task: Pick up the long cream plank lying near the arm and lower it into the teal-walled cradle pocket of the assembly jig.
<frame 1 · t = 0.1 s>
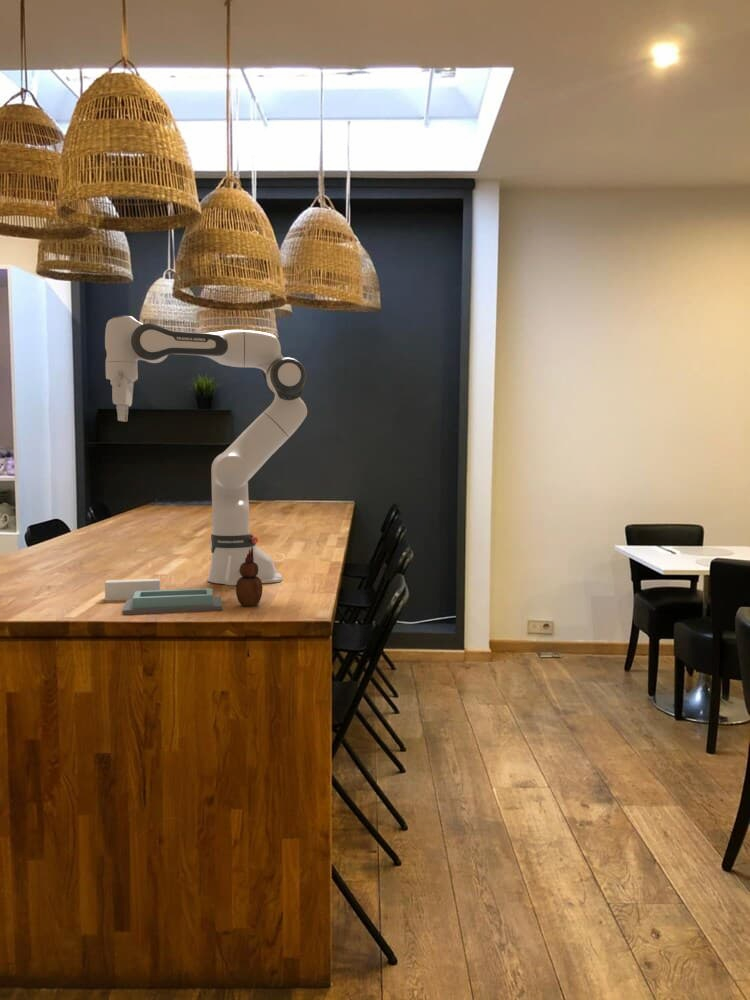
hand: (122, 421, 221), 48 cm above the table, fingers open, 8 cm apart
wooden figurine: (249, 605, 198), on the table
cradle jig: (173, 606, 195), on the table
long cream plank: (133, 598, 206), on the table
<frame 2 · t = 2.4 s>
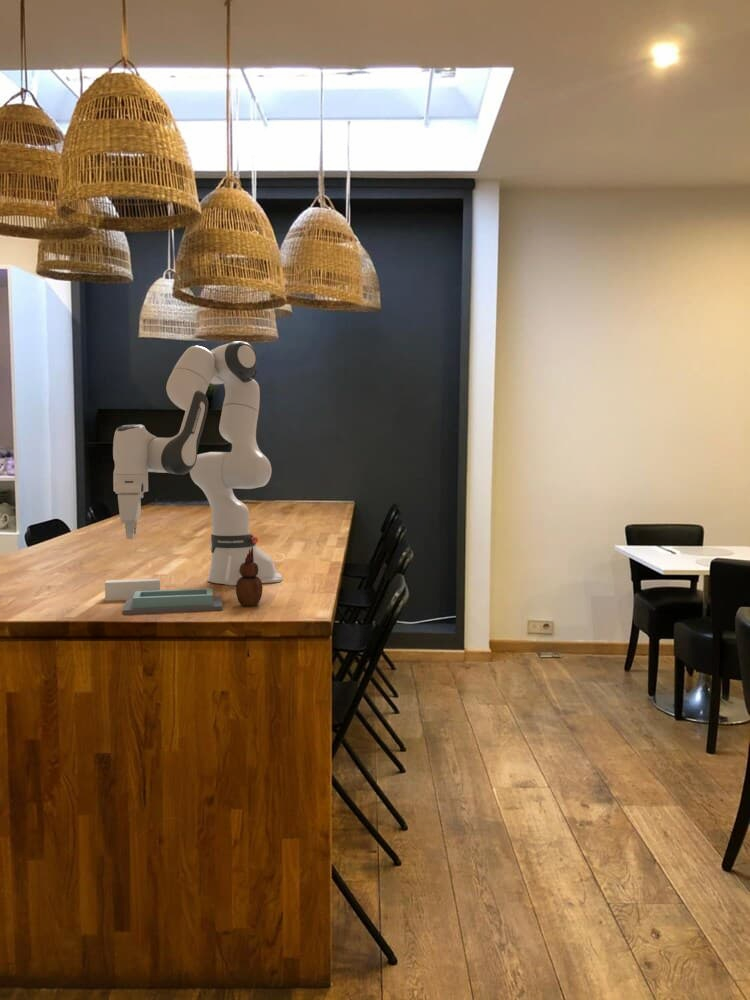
hand: (131, 536, 204), 17 cm above the table, fingers open, 8 cm apart
nothing on the table moved.
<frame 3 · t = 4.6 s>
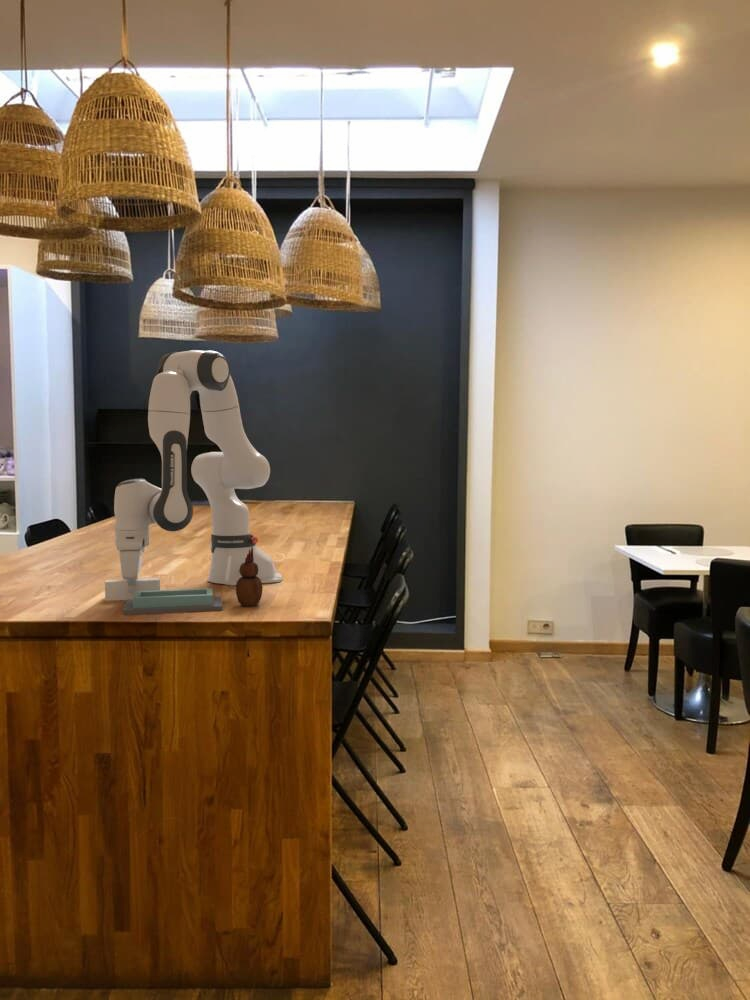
hand: (133, 590, 205), 2 cm above the table, fingers closed on long cream plank, 4 cm apart
long cream plank: (133, 598, 206), on the table, touching gripper
everything else where it was.
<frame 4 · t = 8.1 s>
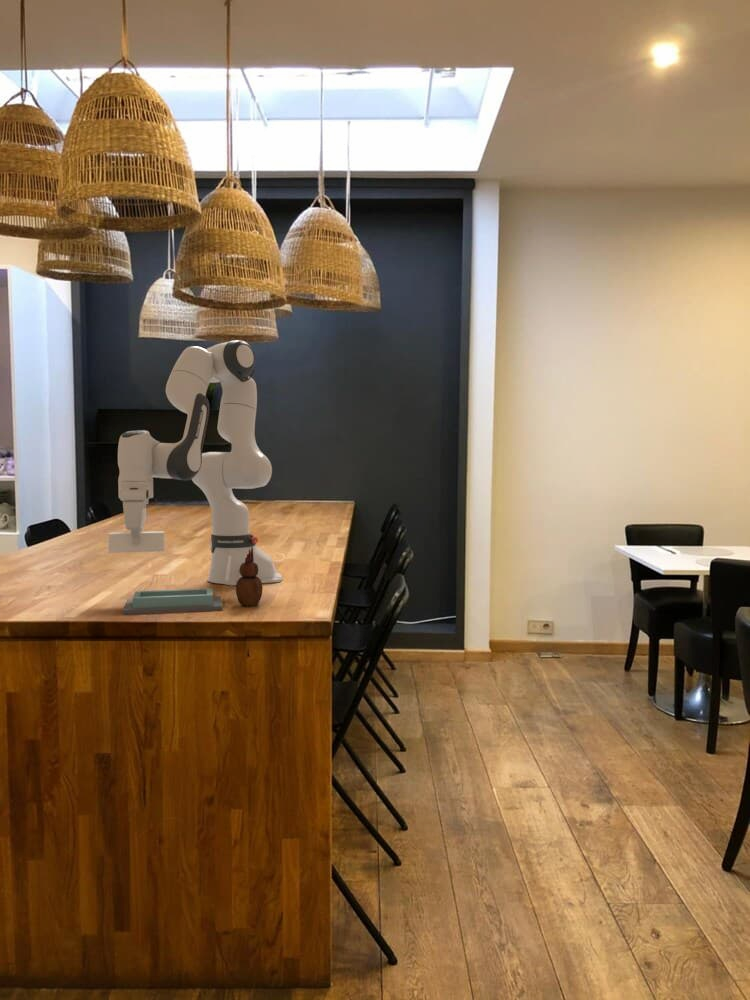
hand: (136, 543, 203), 15 cm above the table, fingers closed on long cream plank, 4 cm apart
long cream plank: (137, 551, 203), point 13 cm above the table, touching gripper
everything else where it was.
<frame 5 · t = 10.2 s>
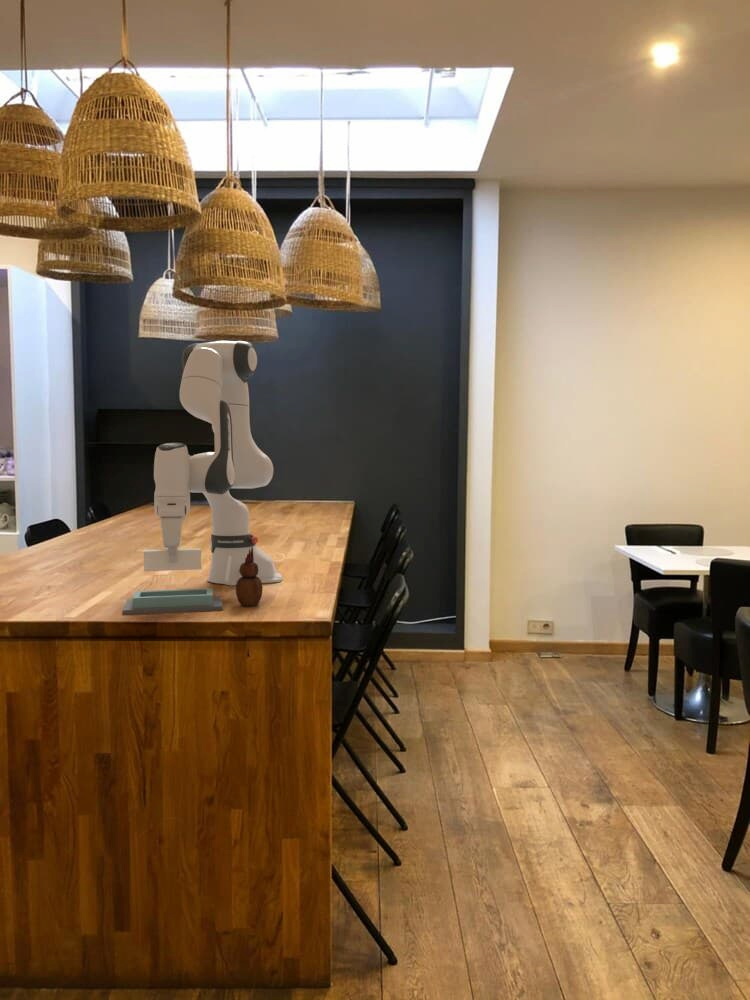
hand: (173, 560, 194), 12 cm above the table, fingers closed on long cream plank, 4 cm apart
long cream plank: (172, 569, 194), point 10 cm above the table, touching gripper
everything else where it was.
when the fingers open (5 cm above the table, at t = 11.9 s): long cream plank drops 2 cm, resting on cradle jig.
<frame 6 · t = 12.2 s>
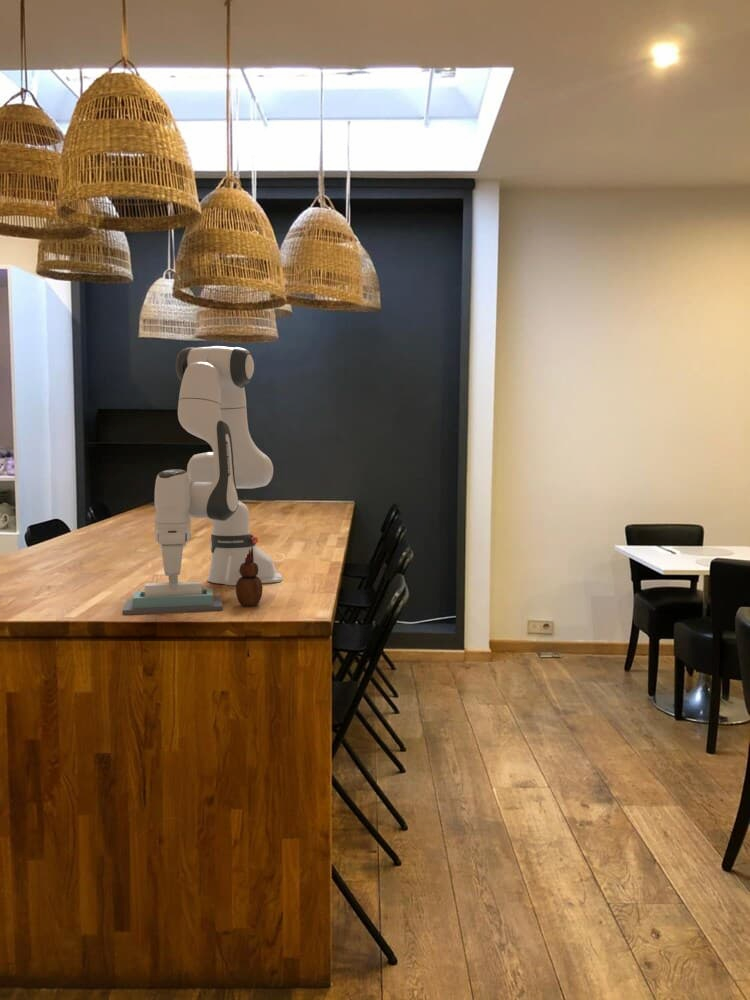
hand: (173, 586, 195), 5 cm above the table, fingers open, 6 cm apart
long cream plank: (173, 602, 195), point 1 cm above the table, touching cradle jig
everything else where it was.
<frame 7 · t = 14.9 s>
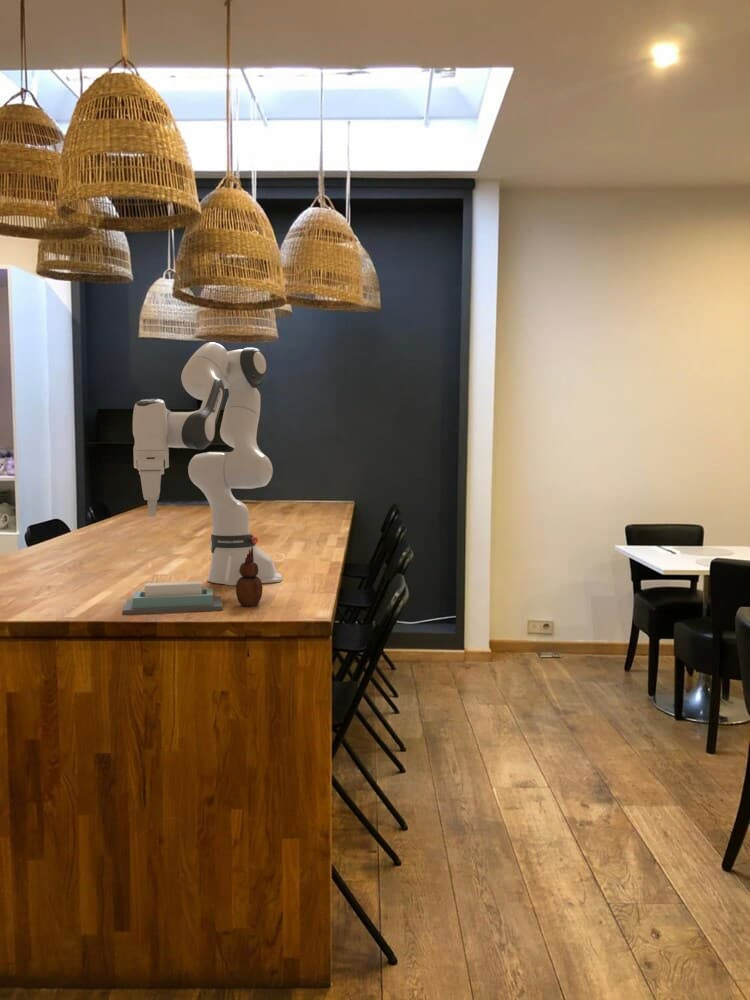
hand: (152, 513, 200), 23 cm above the table, fingers open, 8 cm apart
nothing on the table moved.
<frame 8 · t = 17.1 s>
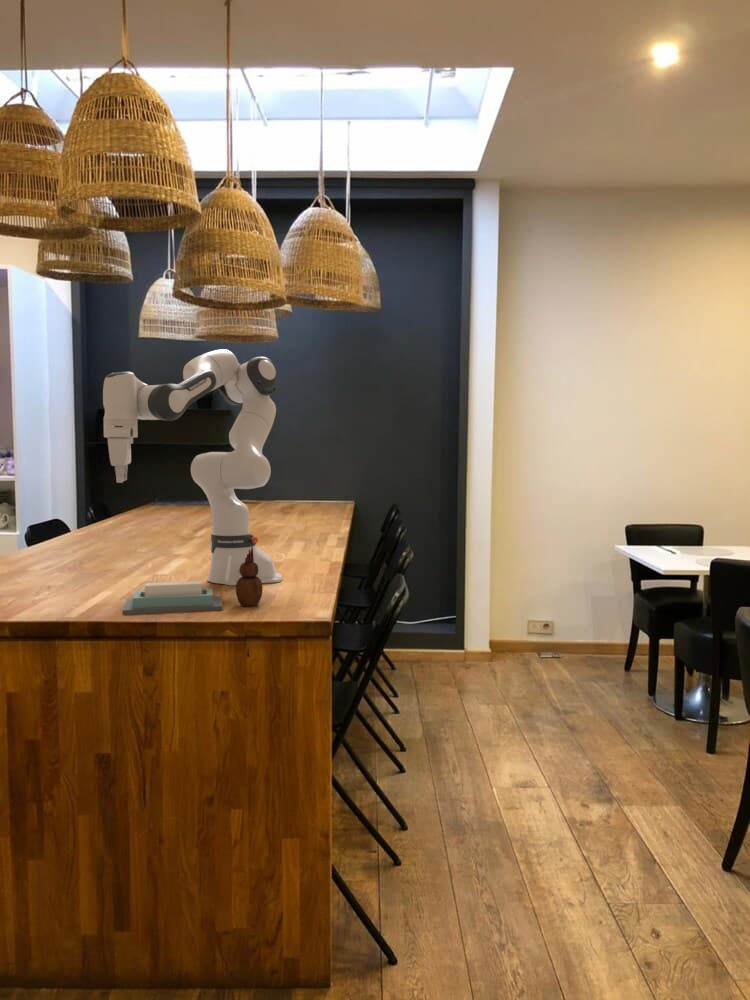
hand: (121, 481, 209), 31 cm above the table, fingers open, 8 cm apart
nothing on the table moved.
at the end: long cream plank 0.0 cm off-centre on the cradle jig, point 1.0 cm above the cradle jig's base; long cream plank tilted 0°; the gripper is holding nothing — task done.
